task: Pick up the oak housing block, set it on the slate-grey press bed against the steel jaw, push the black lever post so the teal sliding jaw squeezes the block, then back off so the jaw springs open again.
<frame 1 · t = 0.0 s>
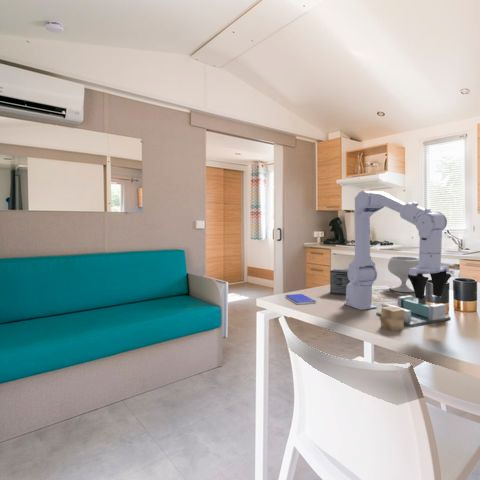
hand: (428, 297, 99), 10 cm above the table, tool pointing down, fingers open, 7 cm apart
chalice: (403, 290, 153), on the table
press: (404, 318, 111), on the table
small box: (343, 294, 147), on the table
housing: (392, 327, 102), on the table
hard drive: (300, 301, 136), on the table
ram: (420, 304, 114), point 4 cm above the table, slide at 0.0 cm
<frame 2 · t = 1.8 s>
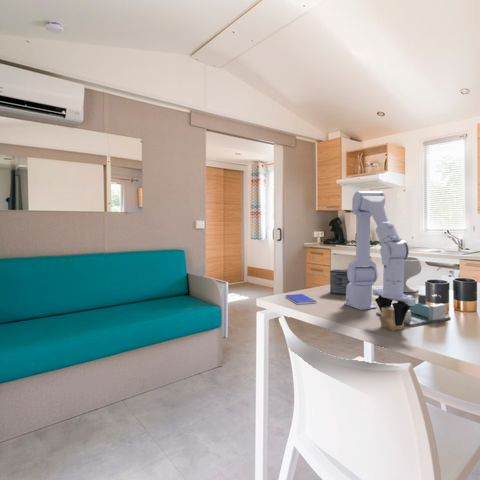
hand: (392, 322, 102), 1 cm above the table, tool pointing down, fingers closed on housing, 4 cm apart
housing: (392, 327, 102), on the table, touching gripper
everything else where it was.
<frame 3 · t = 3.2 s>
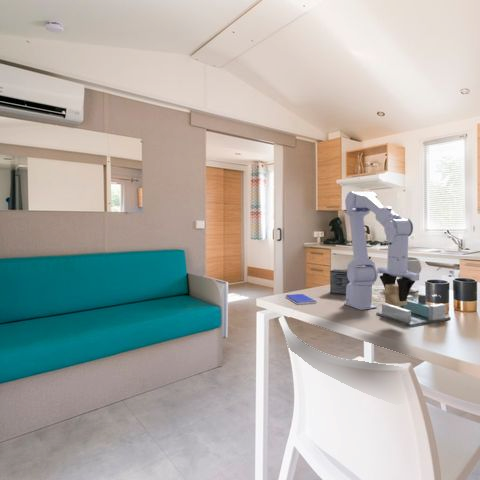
hand: (396, 298, 104), 8 cm above the table, tool pointing down, fingers closed on housing, 4 cm apart
housing: (395, 303, 104), point 7 cm above the table, touching gripper
everything else where it was.
when the fingers open (4 cm above the table, at t = 5.0 s): housing drops 1 cm, resting on press.
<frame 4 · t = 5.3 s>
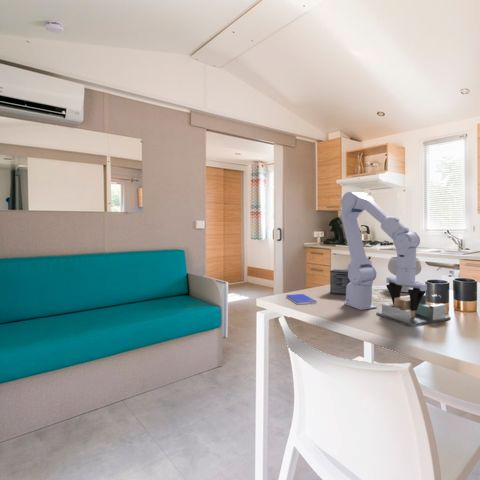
hand: (404, 307, 111), 4 cm above the table, tool pointing down, fingers open, 7 cm apart
housing: (404, 316, 111), point 1 cm above the table, touching press
everything else where it was.
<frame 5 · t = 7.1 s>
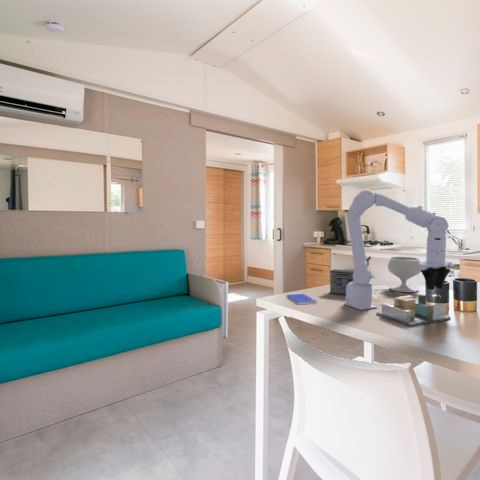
hand: (434, 288, 116), 9 cm above the table, tool pointing down, fingers open, 3 cm apart
nothing on the table moved.
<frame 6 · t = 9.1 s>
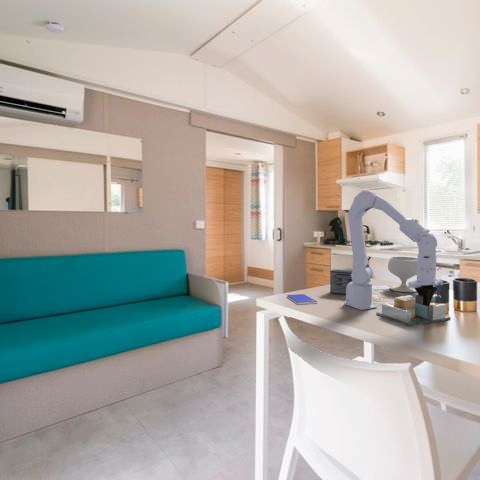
hand: (425, 306, 115), 3 cm above the table, tool pointing down, fingers closed
ram: (416, 304, 113), point 4 cm above the table, slide at 1.5 cm, touching gripper
everything else where it was.
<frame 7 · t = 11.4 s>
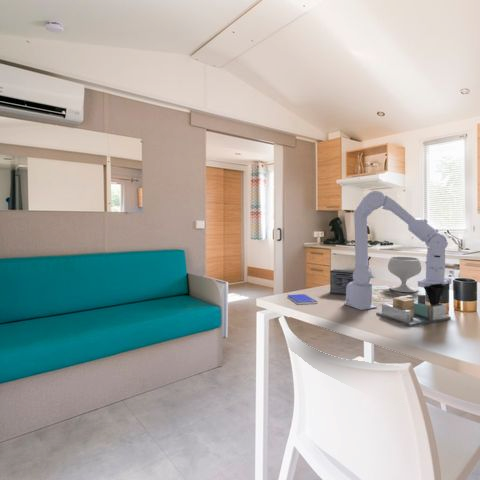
hand: (434, 305, 116), 3 cm above the table, tool pointing down, fingers closed
ram: (419, 304, 113), point 4 cm above the table, slide at 0.2 cm
everything else where it was.
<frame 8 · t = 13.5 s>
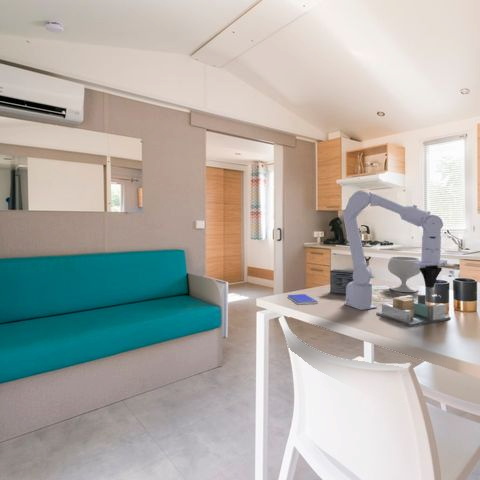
hand: (429, 287, 116), 9 cm above the table, tool pointing down, fingers closed
nothing on the table moved.
at the end: housing 0.7 cm off-centre on the press, point 0.8 cm above the press's base; housing tilted 0°; ram slide at 0.2 cm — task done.
